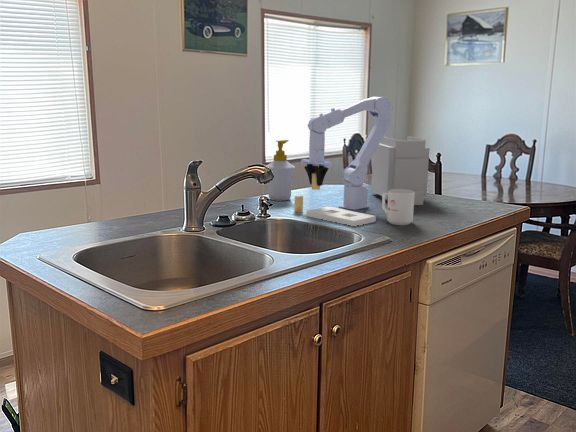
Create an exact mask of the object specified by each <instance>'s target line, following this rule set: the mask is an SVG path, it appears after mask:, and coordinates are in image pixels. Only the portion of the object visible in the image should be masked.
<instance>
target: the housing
mask: <svg viewBox="0 0 576 432" xmlns="http://www.w3.org/2000/svg"><path fill="white" fill-rule="evenodd" d="M305 215H306V217H309V218H314V219H317V220H321V219H323V220H322V221H326V220H327V221H326V222H330V221H332V222H331V223H335V222H337V223H336V224H339V223H342V224H341V225H343V224H347V225H346V226H348V225H351V226H350V227H352V226H355V227H358V226H357V225H359V226H364V225H367V224H372V223H375V222H376V220H377V216H376V215H372V214H367V213H363V212H358V211H354V210H350V209H345V208H340V207H338V208H337V207H332V206H324V207H323V206H322V207H319V208H313V209H309V210H308V209H307V210H306V214H305ZM363 224H364V225H363Z"/></svg>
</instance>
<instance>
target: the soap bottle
mask: <svg viewBox="0 0 576 432" xmlns="http://www.w3.org/2000/svg"><path fill="white" fill-rule="evenodd" d="M275 142H277V148H278V149H277V150H276V151H275V154H273V160H272V161H271V162H270V163H268V164H267V165H265V166H267V167H269V168H270V169H271V170H272V171H273V174H274V179H273V180H272V181H271V182H269V183H268V197H269V199H270V200H271V201H276V202H284V201H285V202H286V201H288V200H290V199H291V197H292V182H293V175H294V173H295V169H296V166H295V165H294V164H292V163H290V162H289V161H288V159H287V157H288V156H287V154H285V150H283V147H284V144H286V143H288V142H289V139H281V140H275Z"/></svg>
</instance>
